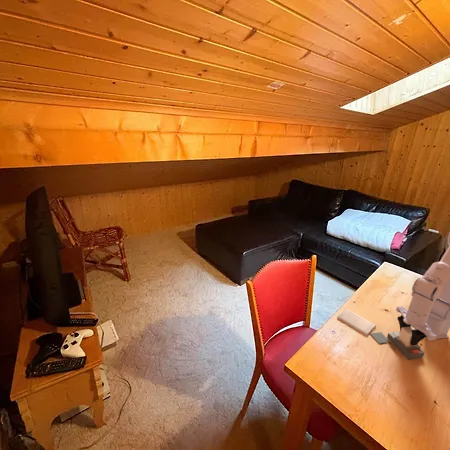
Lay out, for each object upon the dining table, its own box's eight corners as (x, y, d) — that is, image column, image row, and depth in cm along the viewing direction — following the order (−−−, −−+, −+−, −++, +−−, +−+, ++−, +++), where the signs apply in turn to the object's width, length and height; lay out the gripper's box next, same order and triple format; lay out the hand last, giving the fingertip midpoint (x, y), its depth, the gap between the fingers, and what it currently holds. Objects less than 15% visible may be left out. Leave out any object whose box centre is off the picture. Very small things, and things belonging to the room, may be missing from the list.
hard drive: (337, 316, 105) (367, 333, 95) (347, 308, 109) (376, 324, 100) (336, 319, 105) (366, 337, 96) (346, 311, 110) (375, 327, 101)
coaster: (381, 332, 97) (381, 332, 97) (390, 342, 93) (390, 341, 93) (370, 334, 97) (370, 333, 97) (378, 343, 92) (378, 342, 92)
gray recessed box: (400, 336, 96) (402, 329, 94) (422, 357, 86) (425, 350, 85) (386, 337, 95) (389, 330, 94) (407, 359, 86) (410, 352, 85)
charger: (407, 338, 91) (411, 326, 89) (416, 347, 88) (421, 334, 86) (397, 339, 91) (401, 327, 89) (406, 348, 87) (410, 335, 85)
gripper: (392, 297, 90) (383, 325, 95) (427, 326, 77) (415, 357, 82) (409, 296, 91) (400, 324, 96) (447, 324, 77) (433, 355, 82)
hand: (408, 339), depth 89 cm, fingers closed on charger, 4 cm apart
